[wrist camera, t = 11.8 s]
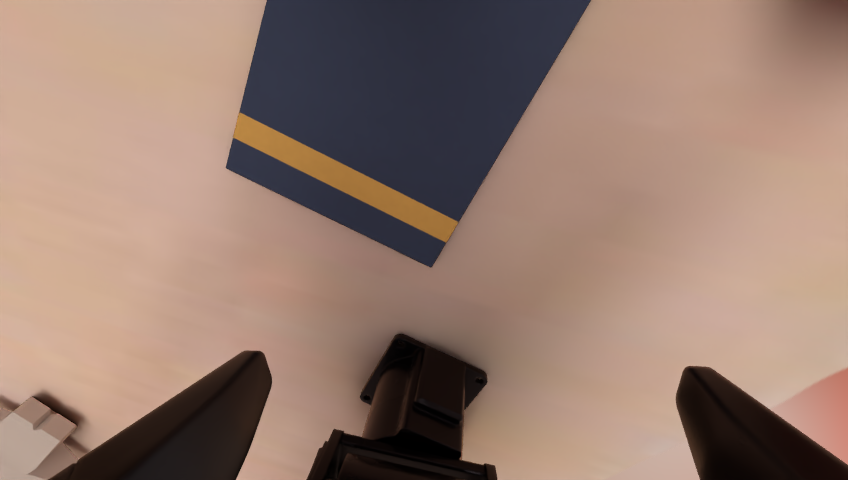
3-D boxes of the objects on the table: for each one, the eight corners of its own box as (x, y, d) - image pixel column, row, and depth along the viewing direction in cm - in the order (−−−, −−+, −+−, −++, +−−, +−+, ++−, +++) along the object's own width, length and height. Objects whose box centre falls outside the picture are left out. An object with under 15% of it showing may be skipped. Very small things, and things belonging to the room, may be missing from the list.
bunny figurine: (75, 480, 31) (-13, 557, 35) (123, 425, 36) (41, 499, 40) (-48, 406, 28) (-127, 499, 33) (21, 357, 33) (-55, 444, 37)
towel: (432, 264, 23) (431, 268, 23) (229, 166, 22) (225, 168, 21) (746, -266, 13) (754, -274, 12) (397, -510, 11) (395, -528, 11)
